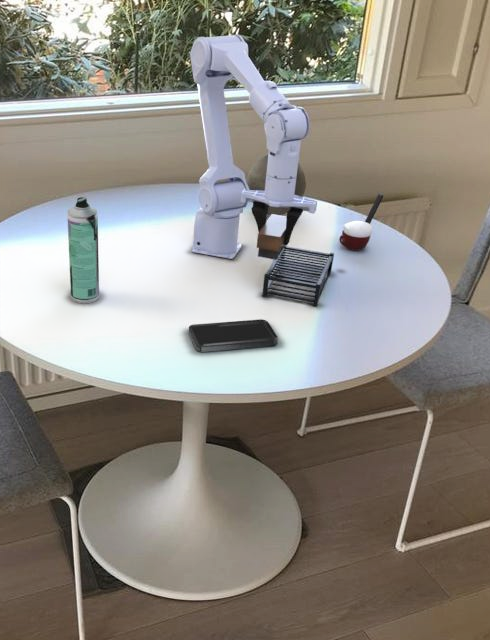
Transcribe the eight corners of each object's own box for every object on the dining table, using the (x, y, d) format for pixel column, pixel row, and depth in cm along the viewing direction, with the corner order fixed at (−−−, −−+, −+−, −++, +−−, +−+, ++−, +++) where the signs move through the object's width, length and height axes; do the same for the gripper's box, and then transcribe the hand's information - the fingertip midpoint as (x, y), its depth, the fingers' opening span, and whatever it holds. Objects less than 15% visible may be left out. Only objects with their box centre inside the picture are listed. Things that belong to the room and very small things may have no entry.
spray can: (103, 293, 151) (102, 196, 140) (92, 305, 147) (89, 206, 136) (78, 288, 153) (74, 191, 142) (66, 300, 148) (61, 201, 137)
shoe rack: (262, 296, 153) (264, 274, 150) (280, 264, 165) (282, 244, 163) (316, 307, 150) (320, 285, 147) (330, 273, 162) (334, 253, 160)
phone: (279, 340, 136) (197, 346, 133) (279, 345, 137) (197, 352, 134) (266, 318, 142) (187, 324, 139) (265, 323, 143) (187, 329, 140)
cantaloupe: (245, 202, 196) (251, 144, 188) (301, 207, 194) (309, 149, 186) (242, 223, 184) (247, 162, 176) (301, 229, 183) (309, 167, 174)
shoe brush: (255, 257, 149) (258, 233, 147) (269, 236, 158) (271, 213, 156) (277, 261, 148) (280, 237, 146) (290, 240, 157) (292, 217, 154)
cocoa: (339, 253, 171) (347, 202, 165) (332, 242, 177) (340, 191, 170) (380, 253, 172) (390, 202, 166) (372, 242, 178) (381, 192, 171)
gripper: (238, 175, 144) (233, 242, 151) (315, 186, 140) (306, 255, 147) (248, 164, 150) (242, 229, 157) (322, 175, 146) (313, 241, 153)
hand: (274, 241), depth 152 cm, fingers closed on shoe brush, 4 cm apart
